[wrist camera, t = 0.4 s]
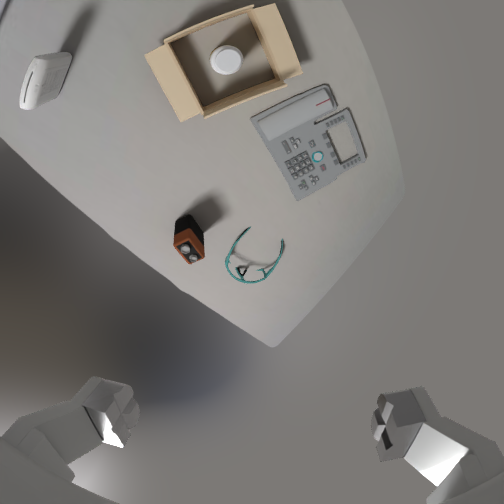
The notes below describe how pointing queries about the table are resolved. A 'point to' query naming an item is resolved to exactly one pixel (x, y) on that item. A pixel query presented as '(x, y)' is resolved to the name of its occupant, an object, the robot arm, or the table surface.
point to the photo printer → (44, 79)
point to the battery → (189, 239)
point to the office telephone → (306, 140)
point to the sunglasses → (246, 270)
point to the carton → (189, 104)
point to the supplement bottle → (226, 59)
